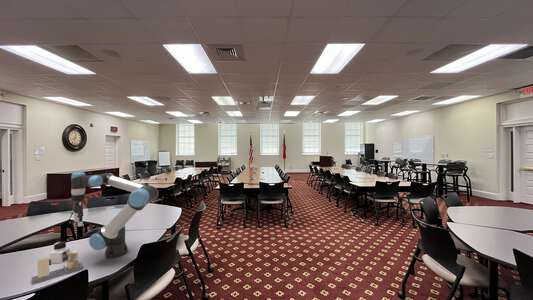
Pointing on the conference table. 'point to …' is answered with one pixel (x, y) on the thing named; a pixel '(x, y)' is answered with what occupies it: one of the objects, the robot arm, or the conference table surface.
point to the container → (59, 252)
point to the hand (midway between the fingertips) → (78, 223)
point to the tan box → (72, 259)
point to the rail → (46, 275)
